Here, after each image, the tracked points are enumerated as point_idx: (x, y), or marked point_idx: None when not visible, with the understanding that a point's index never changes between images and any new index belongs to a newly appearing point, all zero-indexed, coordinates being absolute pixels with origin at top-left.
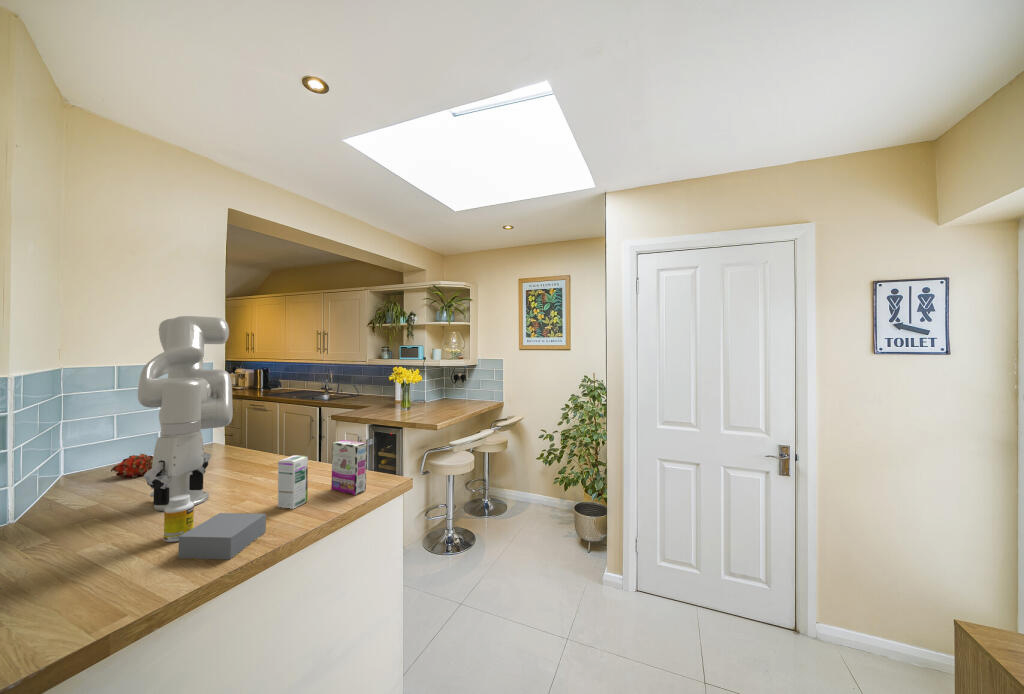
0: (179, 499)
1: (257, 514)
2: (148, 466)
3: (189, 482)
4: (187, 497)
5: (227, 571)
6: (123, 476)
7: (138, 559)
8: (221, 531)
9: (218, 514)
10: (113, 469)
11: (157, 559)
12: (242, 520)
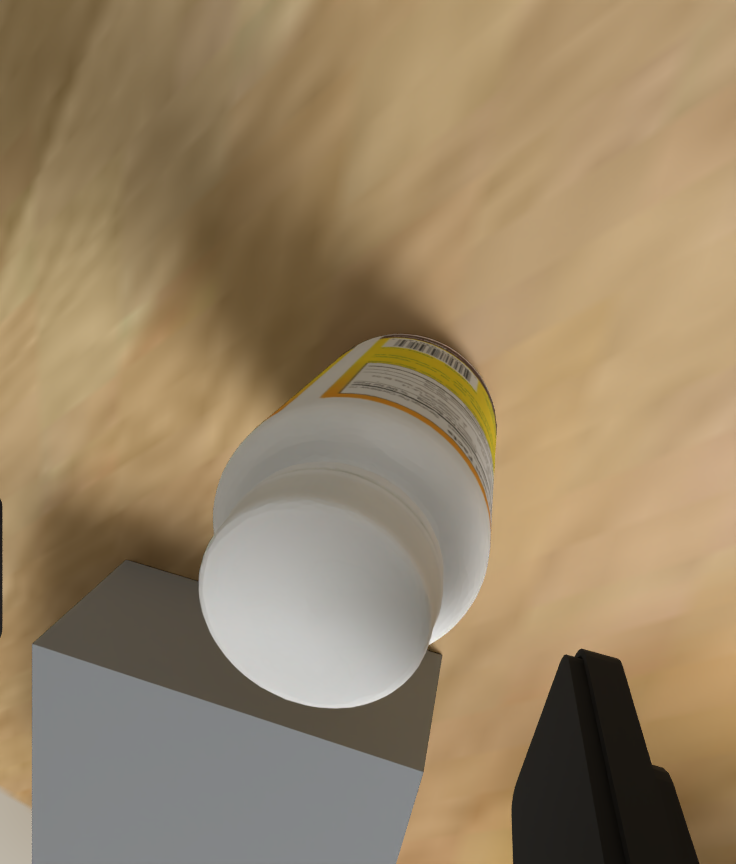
0: (221, 644)
1: None
2: None
3: (581, 755)
4: (293, 701)
5: (23, 801)
6: None
7: (121, 334)
8: (99, 851)
9: (390, 768)
10: None
11: (119, 451)
12: None
